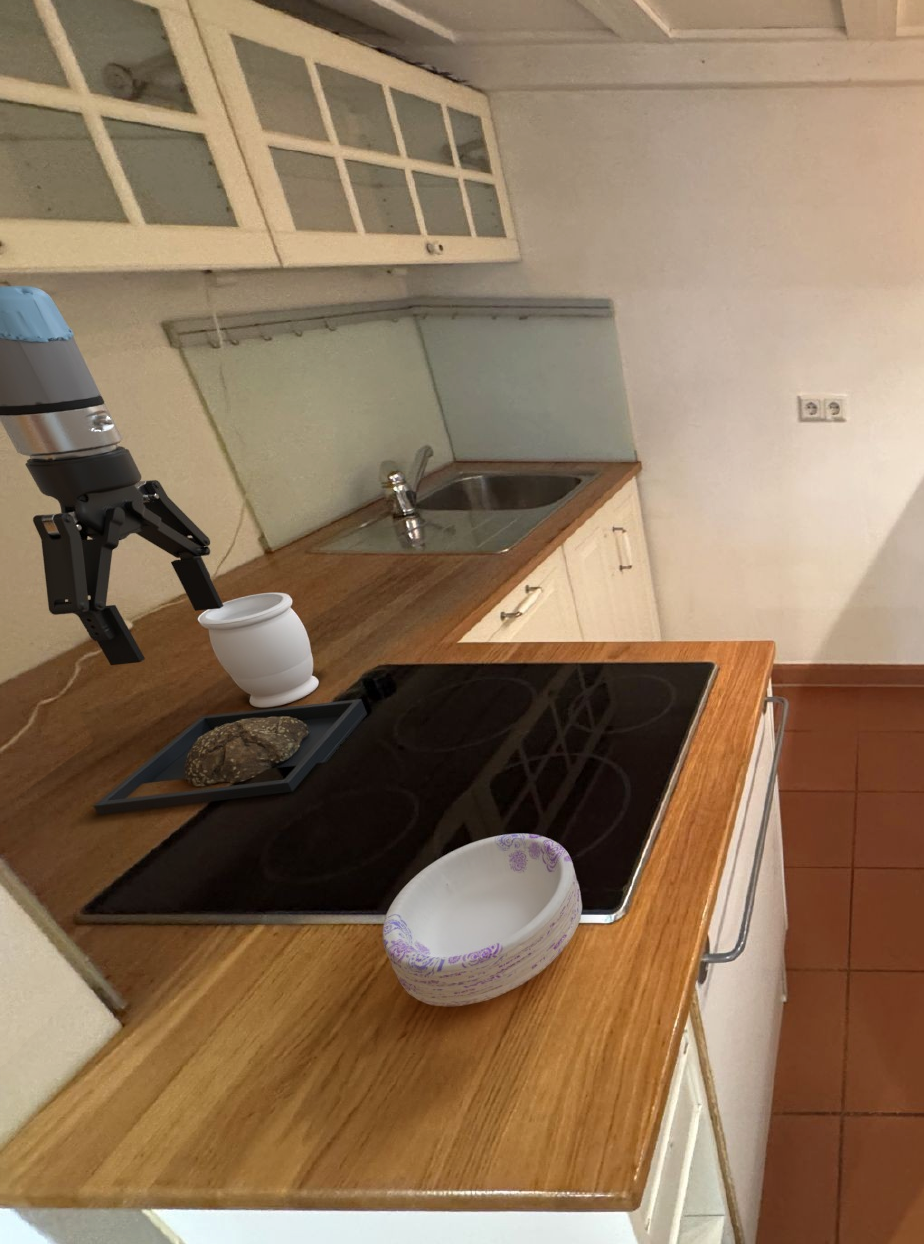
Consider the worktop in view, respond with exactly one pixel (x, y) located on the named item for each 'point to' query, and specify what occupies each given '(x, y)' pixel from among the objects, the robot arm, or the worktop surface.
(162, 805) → the bread tray
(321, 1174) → the worktop surface
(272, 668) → the jar
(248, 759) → the bread roll
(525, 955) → the paper bowls
